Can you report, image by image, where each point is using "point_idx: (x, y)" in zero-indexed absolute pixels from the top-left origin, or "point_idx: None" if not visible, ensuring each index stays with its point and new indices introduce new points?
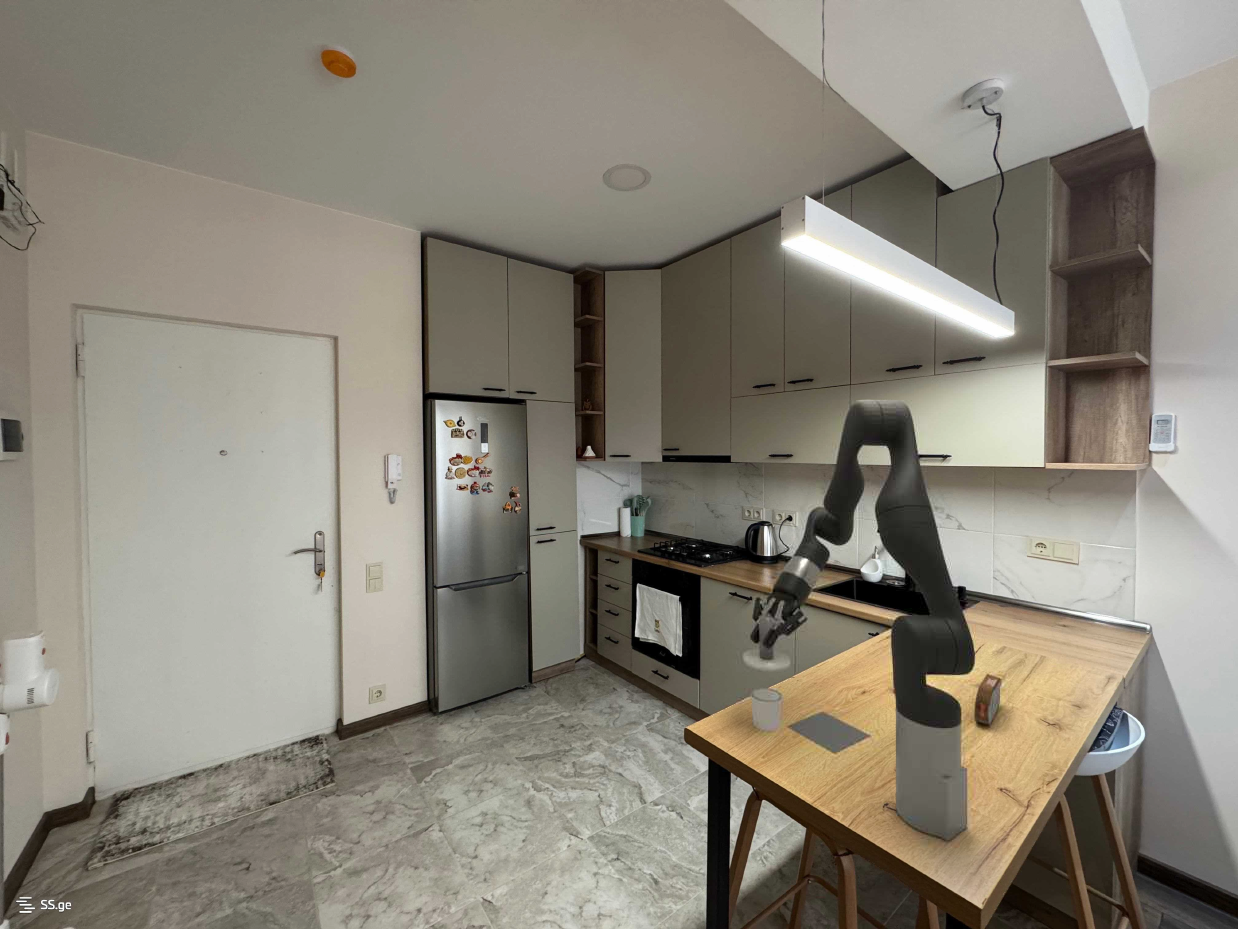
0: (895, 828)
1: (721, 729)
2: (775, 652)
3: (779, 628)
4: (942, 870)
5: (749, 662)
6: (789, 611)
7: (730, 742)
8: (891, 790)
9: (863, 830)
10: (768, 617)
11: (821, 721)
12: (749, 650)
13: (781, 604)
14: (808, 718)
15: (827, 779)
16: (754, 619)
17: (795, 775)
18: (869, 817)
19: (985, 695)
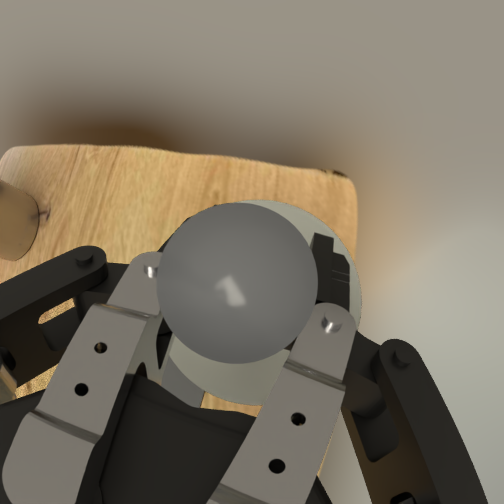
0: (41, 181)
1: (330, 224)
2: (250, 382)
3: (119, 276)
4: (16, 160)
5: (289, 205)
6: (8, 402)
7: (289, 195)
8: (44, 251)
9: (66, 152)
10: (204, 283)
11: (174, 393)
12: (356, 323)
13: (39, 454)
14: (200, 389)
15: (111, 212)
16: (389, 343)
17: (152, 186)
18: (61, 177)
19: None
